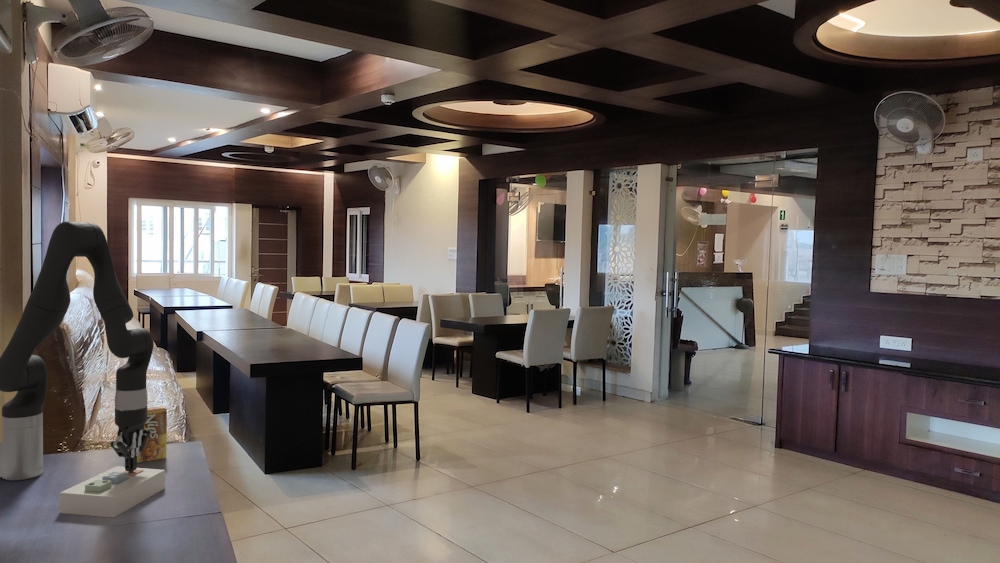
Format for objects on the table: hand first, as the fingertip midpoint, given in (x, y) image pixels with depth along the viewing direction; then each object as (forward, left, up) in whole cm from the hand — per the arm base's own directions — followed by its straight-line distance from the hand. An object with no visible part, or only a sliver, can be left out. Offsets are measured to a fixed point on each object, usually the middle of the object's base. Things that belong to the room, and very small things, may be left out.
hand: (130, 470), depth 177 cm
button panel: (0, -6, -6) cm, 8 cm away
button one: (0, 0, -3) cm, 3 cm away
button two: (0, -12, -2) cm, 12 cm away
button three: (0, -6, -2) cm, 6 cm away
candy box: (-12, +25, -6) cm, 28 cm away
